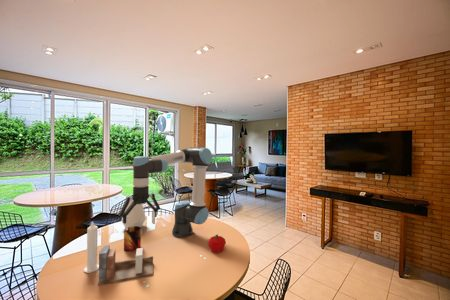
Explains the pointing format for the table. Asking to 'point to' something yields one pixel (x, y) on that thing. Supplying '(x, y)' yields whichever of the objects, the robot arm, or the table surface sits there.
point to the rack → (120, 267)
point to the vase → (136, 215)
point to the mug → (132, 238)
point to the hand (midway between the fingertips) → (140, 226)
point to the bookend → (139, 260)
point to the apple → (217, 243)
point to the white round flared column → (92, 249)
